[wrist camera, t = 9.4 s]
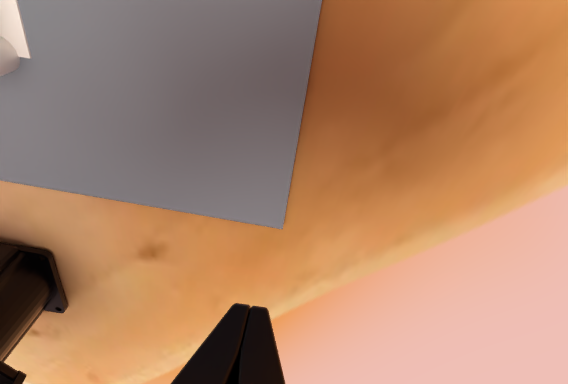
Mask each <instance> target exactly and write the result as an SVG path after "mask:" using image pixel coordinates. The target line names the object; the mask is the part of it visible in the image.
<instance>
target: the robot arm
mask: <svg viewBox="0 0 568 384" xmlns="http://www.w3.org/2000/svg"><path fill="white" fill-rule="evenodd" d="M67 308H68V306H67V303H66V299H65V296H64V293H63V289H62V286H61V283H60V280H59V276H58V273H57V270H56V266H55V263H54V260H53V256H52V255H51V253H49V252H48V251H46V250H41V249H36V248H30V247H24V246H18V245H13V244H7V243H1V242H0V384H22V383H23V381H24V379H25V378H26V374H24V373H23V372H21V371H17V370H15V369H13V368H12V367H10V366H9V365H7V364H5V363H4V361H5V360H6V359H7V357H8V356H9V355H10V353H11V352H12V351H13V350H14V348H15V347H16V346H17V344H18V343H19V342H20V341H21V339H22V338H23V337H24V335H25V334H26V333H27V331H28V330H29V329H30V328H31V326H32V325H33V324H34V322H35V321H36V320H37V319H38V317H39V316H40V315H41V313H42V312H43V311H44V310H45V311H51V312H56V313H64V312H65V310H66V309H67ZM171 384H285V380H284V376H283V371H282V367H281V363H280V359H279V355H278V350H277V346H276V341H275V337H274V333H273V329H272V324H271V320H270V315H269V311H268V309H267V308H265V307H259V306H252V307H250V306H249V305H245V304H239V303H235V304H233V305H232V306H231V308H230V309H229V310H228V311H227V313H226V314H225V315H224V317H223V318H222V319H221V320H220V322H219V323H218V324H217V325H216V327H215V328H214V329H213V331H212V332H211V333H210V334H209V336H208V337H207V338H206V339H205V341H204V342H203V343H202V345H201V346H200V347H199V348H198V350H197V351H196V352H195V353H194V355H193V356H192V357H191V358H190V360H189V361H188V362H187V364H186V365H185V366H184V367H183V369H182V370H181V371H180V373H179V374H178V375H177V376H176V378H175V379H174V380H173V382H172V383H171Z"/></svg>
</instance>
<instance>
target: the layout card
mask: <svg viewBox="0 0 568 384" xmlns="http://www.w3.org/2000/svg"><path fill="white" fill-rule="evenodd" d="M321 4H322V0H0V180H1V181H7V182H13V183H18V184H24V185H30V186H36V187H41V188H47V189H53V190H59V191H65V192H70V193H76V194H82V195H88V196H93V197H99V198H105V199H111V200H116V201H122V202H128V203H134V204H140V205H145V206H151V207H157V208H163V209H168V210H174V211H180V212H186V213H191V214H197V215H203V216H209V217H215V218H220V219H226V220H232V221H238V222H243V223H249V224H255V225H261V226H267V227H272V228H278V229H283V224H284V218H285V213H286V207H287V201H288V195H289V189H290V184H291V178H292V172H293V166H294V160H295V155H296V149H297V143H298V137H299V131H300V126H301V120H302V114H303V108H304V102H305V96H306V91H307V85H308V79H309V73H310V67H311V62H312V56H313V50H314V44H315V38H316V33H317V27H318V21H319V15H320V9H321Z"/></svg>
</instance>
